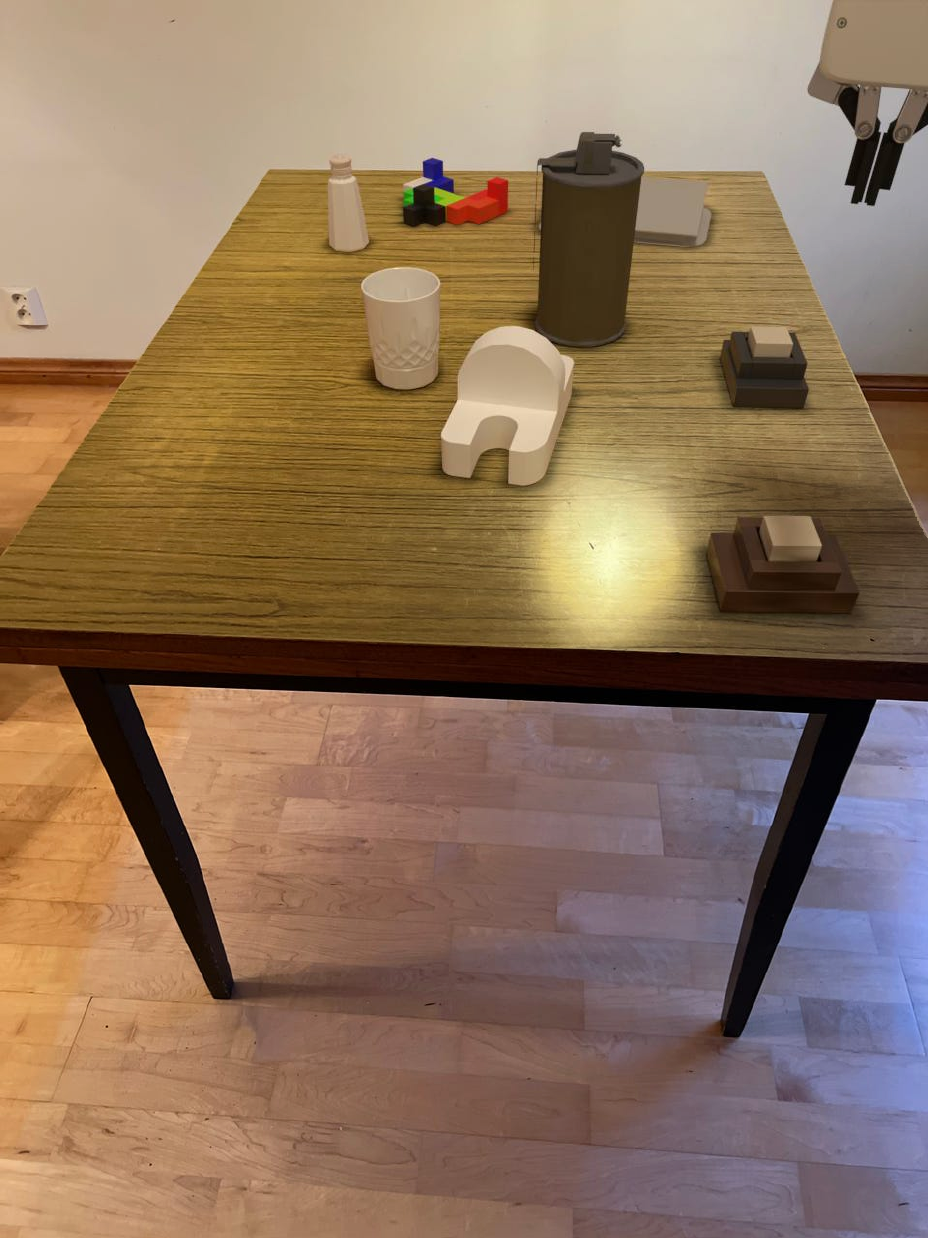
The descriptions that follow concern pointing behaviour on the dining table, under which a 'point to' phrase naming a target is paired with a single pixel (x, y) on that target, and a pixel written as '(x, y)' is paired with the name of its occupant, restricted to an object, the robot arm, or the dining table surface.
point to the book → (671, 212)
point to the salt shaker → (345, 208)
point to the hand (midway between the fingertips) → (863, 197)
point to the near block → (778, 574)
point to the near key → (790, 538)
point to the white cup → (403, 325)
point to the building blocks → (450, 199)
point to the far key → (769, 342)
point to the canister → (586, 241)
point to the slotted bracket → (508, 404)
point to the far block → (764, 375)
